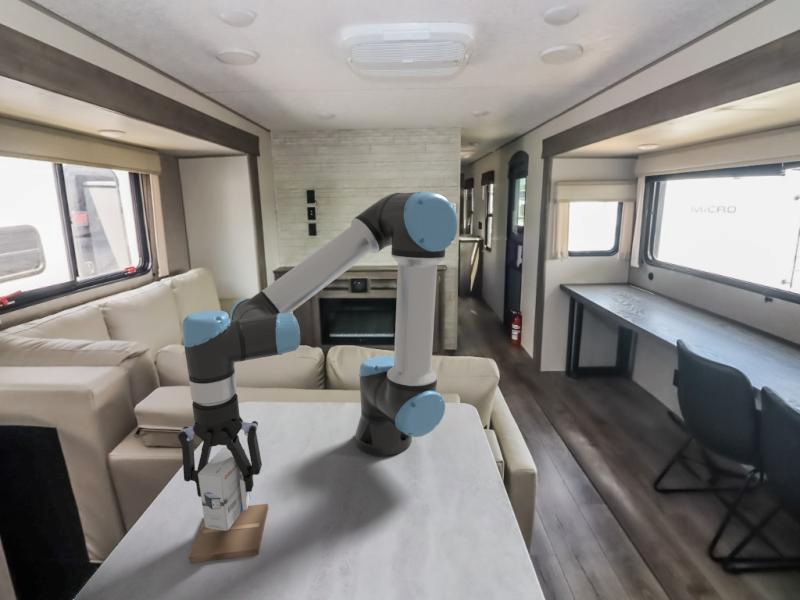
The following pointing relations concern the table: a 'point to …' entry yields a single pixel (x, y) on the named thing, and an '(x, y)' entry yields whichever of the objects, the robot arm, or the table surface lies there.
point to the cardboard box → (232, 537)
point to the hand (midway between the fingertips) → (228, 506)
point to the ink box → (221, 491)
